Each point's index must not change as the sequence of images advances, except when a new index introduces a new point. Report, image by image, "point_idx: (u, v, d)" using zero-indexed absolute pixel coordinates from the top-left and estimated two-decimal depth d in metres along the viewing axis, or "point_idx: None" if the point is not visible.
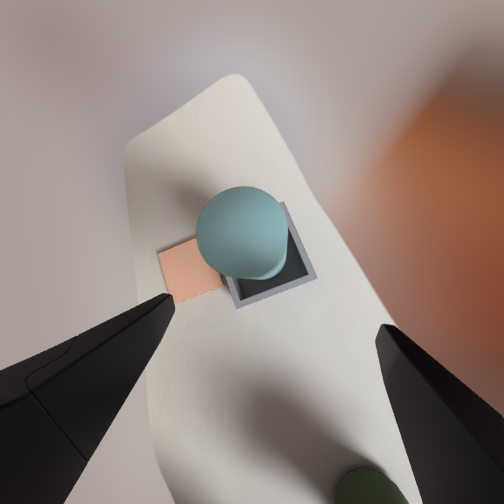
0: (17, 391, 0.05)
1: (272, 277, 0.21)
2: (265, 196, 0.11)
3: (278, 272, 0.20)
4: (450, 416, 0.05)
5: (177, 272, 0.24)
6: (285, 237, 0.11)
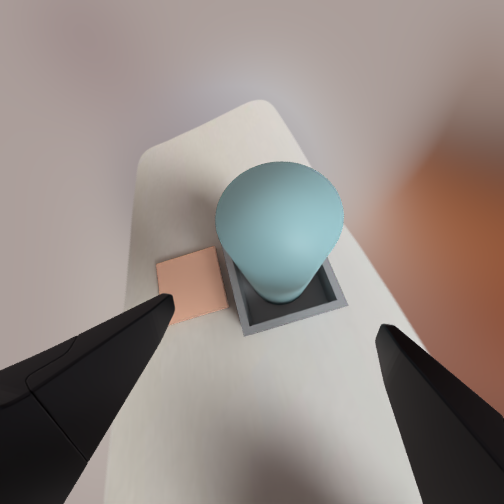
0: (17, 391, 0.05)
1: (290, 301, 0.17)
2: (312, 173, 0.09)
3: (299, 294, 0.16)
4: (450, 416, 0.05)
5: (175, 287, 0.21)
6: (340, 224, 0.08)
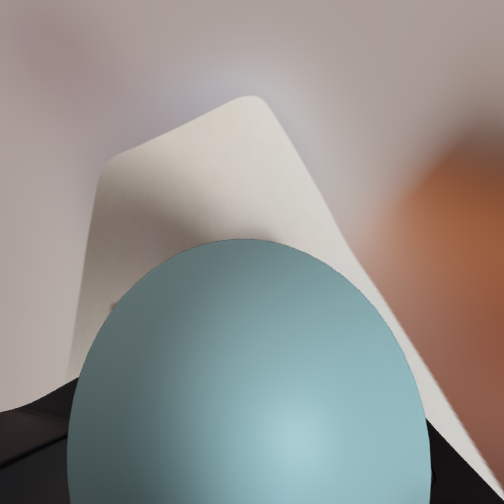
0: None
1: None
2: (327, 280, 0.03)
3: None
4: None
5: None
6: (420, 476, 0.02)
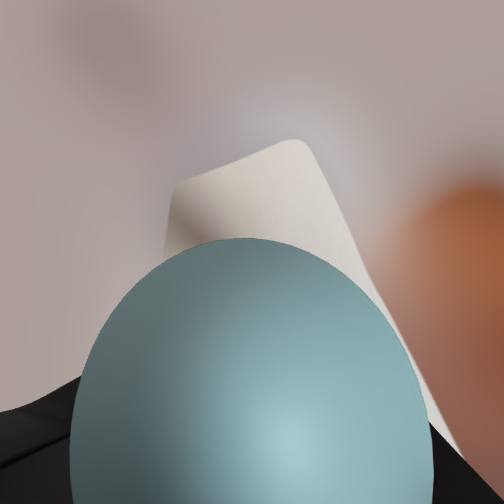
0: None
1: None
2: (329, 279, 0.03)
3: None
4: None
5: None
6: (423, 475, 0.02)
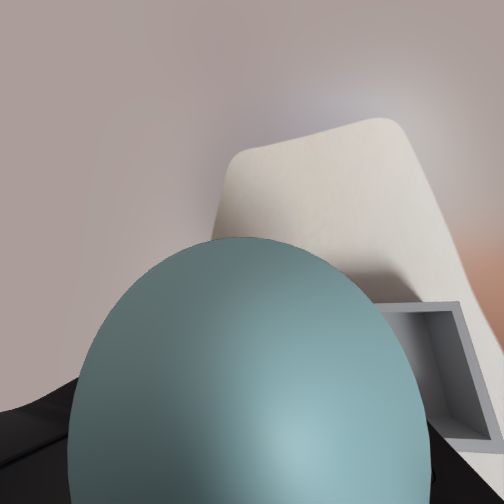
0: None
1: None
2: (327, 278, 0.03)
3: None
4: None
5: None
6: (420, 473, 0.02)
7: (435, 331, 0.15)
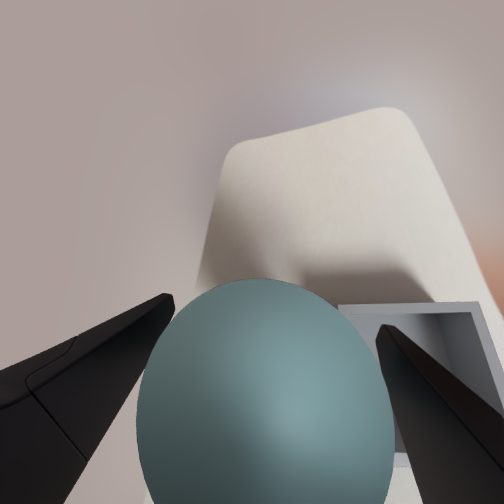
0: (17, 391, 0.05)
1: None
2: (326, 313, 0.04)
3: None
4: (450, 416, 0.05)
5: None
6: (388, 453, 0.04)
7: (450, 334, 0.14)
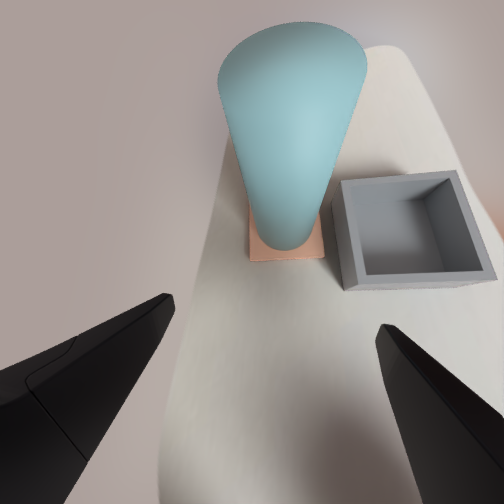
0: (17, 391, 0.05)
1: (296, 241, 0.16)
2: (329, 30, 0.07)
3: (307, 229, 0.15)
4: (450, 416, 0.05)
5: None
6: (363, 72, 0.07)
7: (434, 208, 0.17)
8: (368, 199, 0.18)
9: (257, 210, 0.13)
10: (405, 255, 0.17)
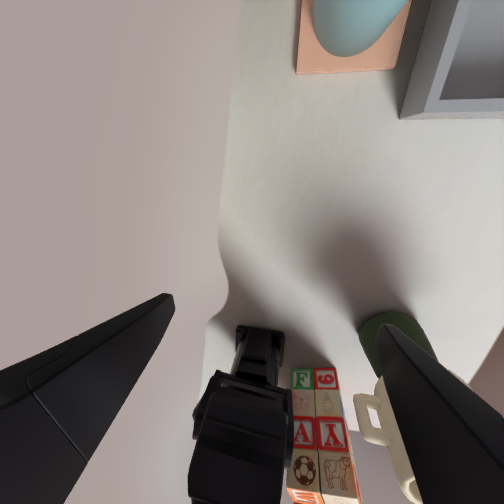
0: (17, 391, 0.05)
1: (367, 40, 0.12)
2: None
3: (392, 17, 0.11)
4: (450, 416, 0.05)
5: None
6: None
7: None
8: None
9: None
10: None
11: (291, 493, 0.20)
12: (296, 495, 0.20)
